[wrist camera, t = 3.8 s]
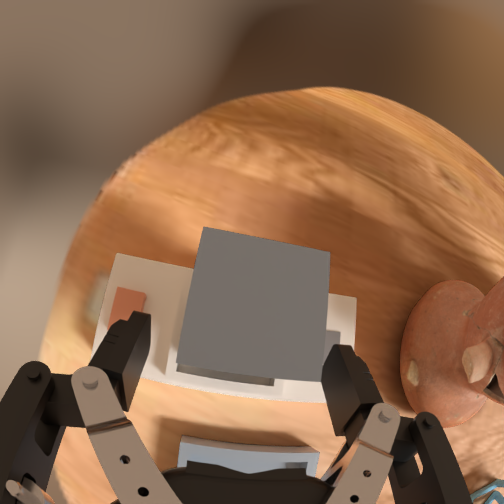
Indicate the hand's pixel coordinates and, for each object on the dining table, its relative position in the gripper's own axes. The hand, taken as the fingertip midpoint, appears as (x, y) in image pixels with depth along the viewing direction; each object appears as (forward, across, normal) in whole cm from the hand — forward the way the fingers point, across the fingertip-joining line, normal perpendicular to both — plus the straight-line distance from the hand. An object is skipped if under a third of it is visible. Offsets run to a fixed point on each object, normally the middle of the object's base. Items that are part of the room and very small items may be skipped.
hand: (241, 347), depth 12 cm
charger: (+6, 0, +4) cm, 7 cm away
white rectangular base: (+8, 0, +6) cm, 10 cm away
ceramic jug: (+8, -22, +6) cm, 24 cm away
